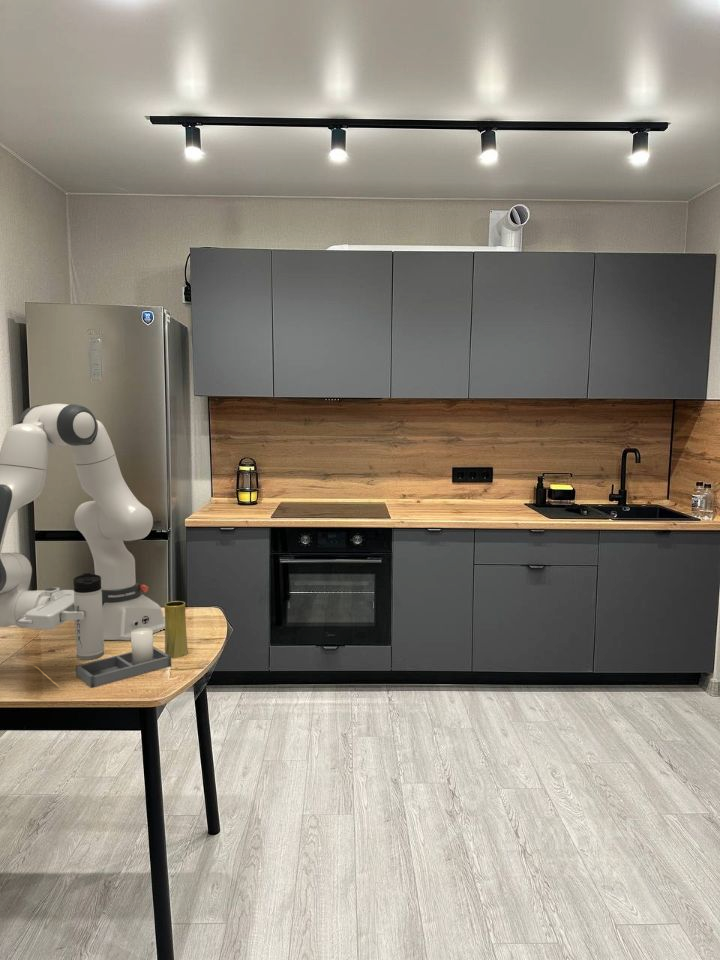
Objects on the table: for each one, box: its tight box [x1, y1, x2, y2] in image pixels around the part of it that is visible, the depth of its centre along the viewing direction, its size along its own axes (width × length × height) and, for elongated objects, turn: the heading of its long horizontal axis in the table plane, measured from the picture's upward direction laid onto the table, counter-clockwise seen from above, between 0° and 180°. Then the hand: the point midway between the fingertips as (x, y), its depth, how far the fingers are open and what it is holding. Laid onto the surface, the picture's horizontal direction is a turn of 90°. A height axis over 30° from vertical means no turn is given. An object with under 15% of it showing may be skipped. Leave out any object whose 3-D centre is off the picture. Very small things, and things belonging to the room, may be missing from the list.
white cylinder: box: [130, 628, 154, 665], centre depth 168 cm, size 5×5×9 cm
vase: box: [164, 600, 189, 659], centre depth 176 cm, size 6×6×14 cm
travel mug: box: [73, 572, 105, 662], centre depth 162 cm, size 6×7×20 cm
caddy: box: [75, 645, 172, 689], centre depth 165 cm, size 20×10×3 cm, turn 132°
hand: (92, 610), depth 161 cm, fingers closed on travel mug, 6 cm apart
